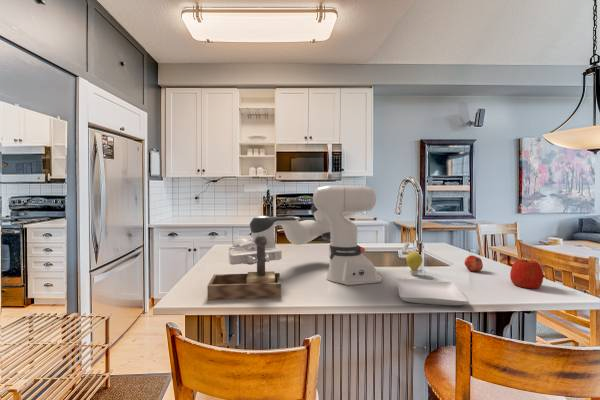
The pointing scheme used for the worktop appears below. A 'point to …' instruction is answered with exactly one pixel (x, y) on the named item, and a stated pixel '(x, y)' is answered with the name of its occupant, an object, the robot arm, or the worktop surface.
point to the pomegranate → (473, 263)
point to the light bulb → (414, 262)
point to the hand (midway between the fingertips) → (261, 260)
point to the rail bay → (241, 288)
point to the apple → (526, 274)
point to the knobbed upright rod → (260, 265)
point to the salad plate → (430, 292)
